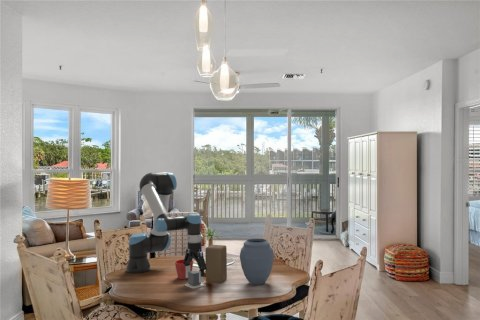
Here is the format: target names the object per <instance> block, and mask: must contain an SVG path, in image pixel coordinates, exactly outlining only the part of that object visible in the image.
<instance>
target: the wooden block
mask: <svg viewBox="0 0 480 320" xmlns="http://www.w3.org/2000/svg"><path fill="white" fill-rule="evenodd" d="M204 249H205V250H204V253H205V255H204V260H205V264H206V268H207V269H206V270H205V282H206V283H214V284H216V283H217V284H222V283H223V282H224V281H226V280H227V279H228V270H227V269H228V268H227V267H228V263H227V262H228V261H227V259H228V258H227V251H228V250H227V246H226V245H223V244H222V245H221V244H210V245H209V246H206V247H205V248H204Z"/></svg>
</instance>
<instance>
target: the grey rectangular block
mask: <svg viewBox="0 0 480 320" xmlns="http://www.w3.org/2000/svg"><path fill="white" fill-rule="evenodd" d="M187 280H188V283H187V284H190V285H193V286H195V285H199V284H201V283H199V270H192V271H191V272H188V279H187Z"/></svg>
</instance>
